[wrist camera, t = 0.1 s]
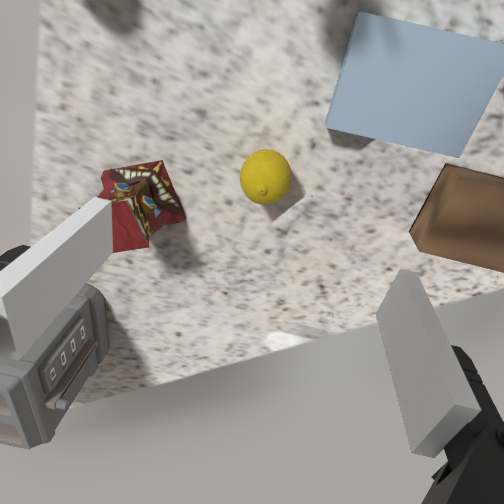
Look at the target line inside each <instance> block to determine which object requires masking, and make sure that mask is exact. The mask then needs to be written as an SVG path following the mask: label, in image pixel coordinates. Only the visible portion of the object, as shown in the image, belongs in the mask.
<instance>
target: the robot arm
mask: <svg viewBox="0 0 504 504" xmlns="http://www.w3.org/2000/svg"><path fill="white" fill-rule="evenodd" d="M112 252H113V236H112V205H111V201H109V200H105V199H101V198H97V197H94V198H93V199H91V200H90V201H89V202H88V203H86V204H85V205H84V206H82V207H81V208H80V209H79V210H77V211H76V212H75V213H74V214H72V215H71V216H70V217H69V218H67V219H66V220H65V221H63V222H62V223H61V224H60V225H58V226H57V227H56V228H55V229H53V230H52V231H51V232H50V233H48V234H47V235H46V236H44V237H43V238H42V239H41V240H39V241H38V242H37V243H36V244H34V245H33V246H32V247H30V246H26V245H21V246H18V247H16V248H13V249H11V250H8V251H7V252H5V253H4V254H2V255H1V256H0V356H3V357H7V358H11V359H15V360H20V359H21V357H22V356H23V355H24V354H25V353H26V352H27V350H28V349H29V348H30V347H31V346H32V345H33V344H34V342H35V341H36V340H37V339H38V338H39V337H40V335H41V334H42V333H43V332H44V331H45V330H46V329H47V327H48V326H49V325H50V324H51V323H52V322H53V320H54V319H55V318H56V317H57V316H58V315H59V314H60V312H61V311H62V310H63V309H64V308H65V307H66V305H67V304H68V303H69V302H70V301H71V300H72V299H73V297H74V296H75V295H76V294H77V293H78V292H79V290H80V289H81V288H82V287H83V286H84V285H85V284H86V282H87V281H88V280H89V279H90V278H91V277H92V275H93V274H94V273H95V272H96V271H97V270H98V269H99V267H100V266H101V265H102V264H103V263H104V262H105V260H106V259H107V258H108V257H109V256H110V255H111V254H112ZM376 316H377V320H378V324H379V328H380V332H381V335H382V340H383V344H384V347H385V351H386V355H387V359H388V363H389V367H390V371H391V375H392V379H393V383H394V386H395V390H396V394H397V398H398V402H399V406H400V410H401V414H402V417H403V421H404V425H405V429H406V433H407V437H408V441H409V445H410V449H411V453H415V454H419V455H423V456H427V457H432V458H435V457H436V456H437V455H438V454H439V453H440V452H441V451H442V450H443V449H444V450H445V453H446V456H447V459H448V462H447V463H446V464H445V465H443V466H442V467H441V468H440V469H439V470H438V471H437V472H436V473H435V474H434V475H433V476H432V478H433V479H434V480H435V481H434V482H433V484H432V486H431V488H430V490H429V491H428V493H427V495H426V497H425V498H424V500H423V502H422V504H504V422H503V420H502V418H501V416H500V415H499V413H498V411H497V409H496V407H495V405H494V403H493V401H492V399H491V397H490V395H489V393H488V391H487V389H486V387H485V385H483V382H482V379H481V377H480V375H479V374H477V370H476V368H475V366H474V364H473V362H472V360H471V359H470V358H469V356H468V355H467V354H466V353H465V352H464V351H463V350H462V349H461V348H460V347H457V346H453V345H450V342H449V340H448V338H447V336H446V334H445V332H444V330H443V328H442V325H441V323H440V321H439V319H438V317H437V315H436V313H435V311H434V308H433V306H432V304H431V302H430V300H429V298H428V296H427V294H426V291H425V289H424V287H423V285H422V283H421V281H420V279H419V277H418V274H417V273H414V272H410V271H406V270H402V269H400V270H399V272H398V274H397V276H396V278H395V279H394V281H393V283H392V285H391V287H390V289H389V291H388V292H387V294H386V296H385V298H384V300H383V302H382V303H381V305H380V307H379V309H378V311H377V313H376Z"/></svg>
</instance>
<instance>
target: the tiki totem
mask: <svg viewBox="0 0 504 504" xmlns="http://www.w3.org/2000/svg"><path fill="white" fill-rule="evenodd" d="M101 180H102V184H103V187H104V189H103V191H102V192H101V193H100V195H99V196H98V197H97V198H101V199H105V200H109V201H111V205H112V236H113V252H112V253H115V252H122V251H128V250H135V249H141V248H148V247H149V237H150V236H151V235H152V234H153V233H154V232H156V231H157V230H158V229H159V228H161V227H162V226H163V225H164V224H172V223H179V222H181V221H183V220H185V219H186V217H185V215H184V212H183V210H182V207H181V205H180V203H179V200H178V198H177V195H176V193H175V190H174V188H173V185H172V183H171V180H170V178H169V176H168V173H167V171H166V168H165V166H164V163H163V161H162V160H161V161H155V162H150V163H144V164H139V165H134V166H128V167H123V168H117V169H110V170H106V171H103V174H102V176H101ZM79 209H80V208H79Z"/></svg>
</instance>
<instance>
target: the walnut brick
mask: <svg viewBox="0 0 504 504" xmlns="http://www.w3.org/2000/svg"><path fill="white" fill-rule="evenodd" d="M409 233H410V235H411V237H412V239H413V241H414V243H415V245H416V246H417V248H418V250H419V252H423V253H427V254H431V255H435V256H439V257H443V258H447V259H451V260H455V261H459V262H463V263H467V264H471V265H475V266H479V267H483V268H487V269H491V270H495V271H499V272H503V273H504V178H503V177H499V176H495V175H491V174H487V173H483V172H479V171H475V170H471V169H467V168H463V167H459V166H455V165H451V164H447V163H445V165H444V167H443V169H442V171H441V172H440V174H439V176H438V178H437V180H436V182H435V184H434V185H433V187H432V189H431V191H430V193H429V195H428V197H427V198H426V200H425V202H424V204H423V206H422V208H421V210H420V211H419V213H418V215H417V217H416V219H415V221H414V223H413V224H412V226H411V228H410V230H409Z"/></svg>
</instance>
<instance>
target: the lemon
mask: <svg viewBox="0 0 504 504" xmlns="http://www.w3.org/2000/svg"><path fill="white" fill-rule="evenodd" d="M240 182H241V187H242V189H243V192H244V193H245V195H246V196H247V197H248V198H249V199H250V200H251V201H253V202H255V203H258V204H264V205H267V204H272V203H274V202H276V201H278V200H279V199H281V198H282V197H283V196H284V195H285V193H286V192H287V190H288V188H289V186H290V183H291V169H290V166H289V164H288V162H287V160H286V159H285V158H284V157H283V156H282V155H281V154H280V153H278V152H276V151H273V150H267V149H266V150H260V151H257V152H255V153H253V154H252V155H250V156H249V157H248V158H247V160H246V161H245V162H244V164H243V166H242V169H241V174H240Z"/></svg>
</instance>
